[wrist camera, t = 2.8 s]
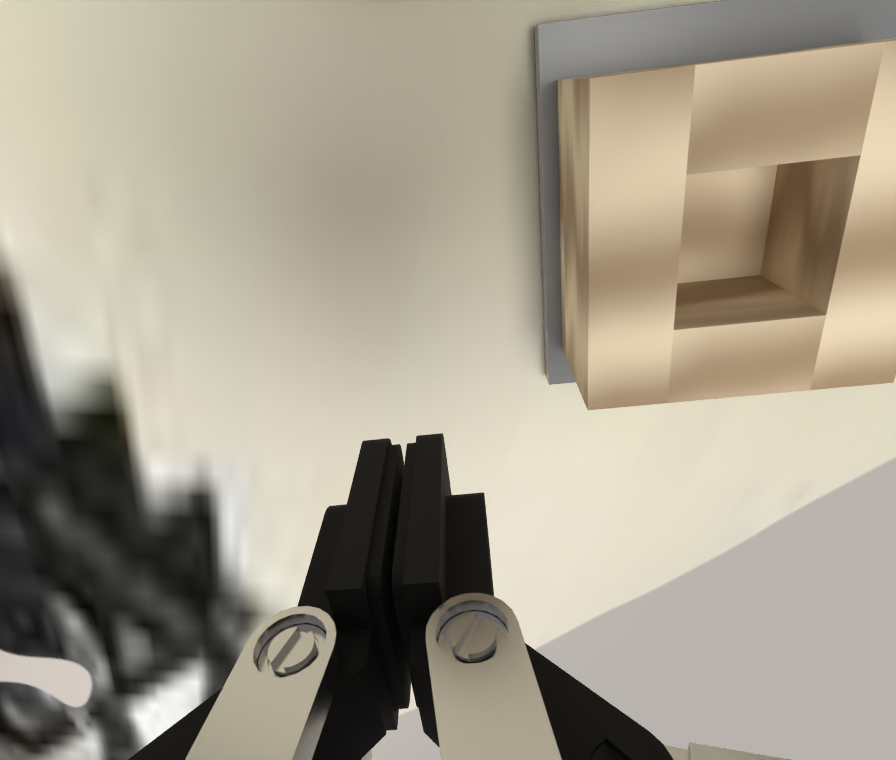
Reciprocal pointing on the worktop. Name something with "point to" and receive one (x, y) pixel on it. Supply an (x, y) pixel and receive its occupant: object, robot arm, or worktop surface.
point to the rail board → (659, 45)
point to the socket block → (730, 226)
